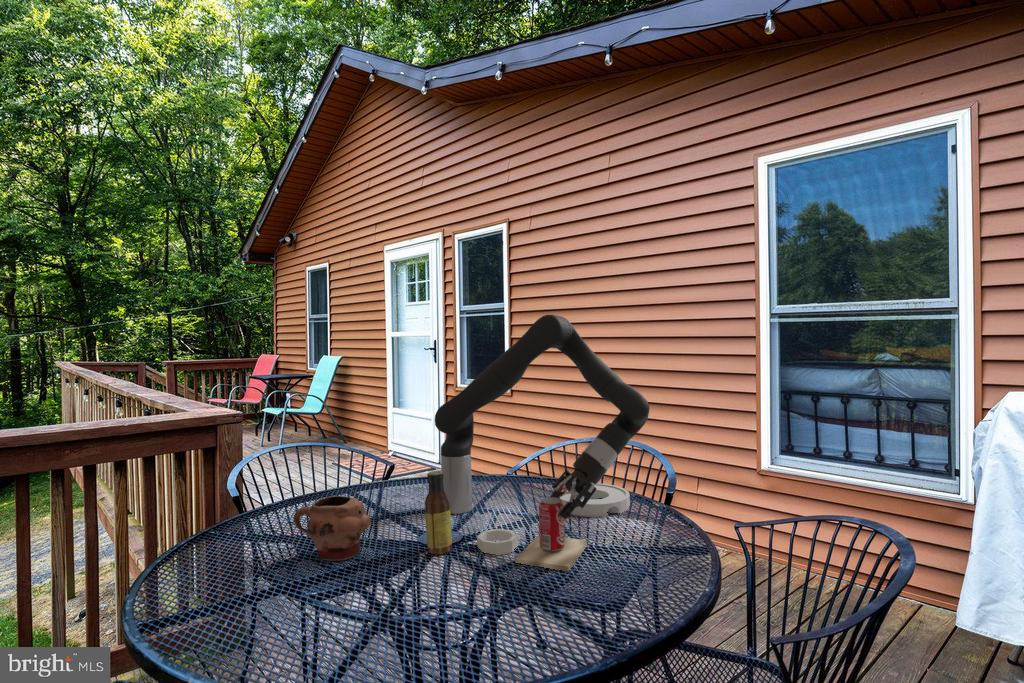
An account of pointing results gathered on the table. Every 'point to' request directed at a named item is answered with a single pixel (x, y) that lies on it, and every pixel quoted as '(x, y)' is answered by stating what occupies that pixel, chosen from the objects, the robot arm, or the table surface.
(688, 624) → the table surface
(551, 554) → the birch board
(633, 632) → the table surface
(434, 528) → the sauce bottle
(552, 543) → the beverage can
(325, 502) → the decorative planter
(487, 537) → the can holder
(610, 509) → the ashtray
